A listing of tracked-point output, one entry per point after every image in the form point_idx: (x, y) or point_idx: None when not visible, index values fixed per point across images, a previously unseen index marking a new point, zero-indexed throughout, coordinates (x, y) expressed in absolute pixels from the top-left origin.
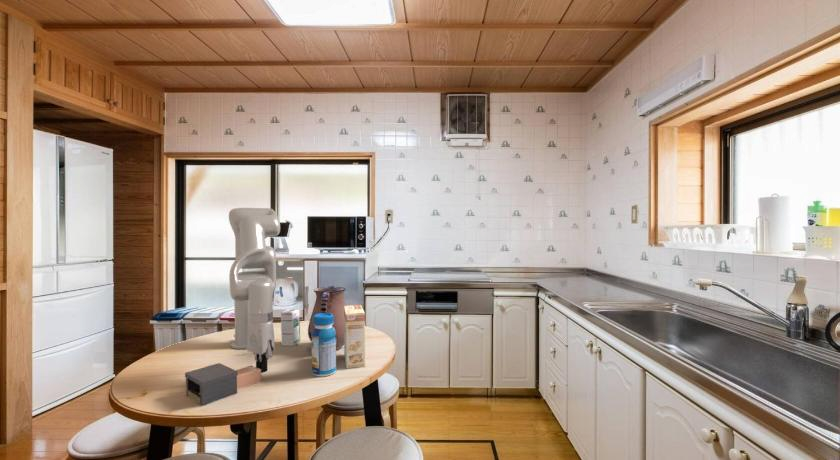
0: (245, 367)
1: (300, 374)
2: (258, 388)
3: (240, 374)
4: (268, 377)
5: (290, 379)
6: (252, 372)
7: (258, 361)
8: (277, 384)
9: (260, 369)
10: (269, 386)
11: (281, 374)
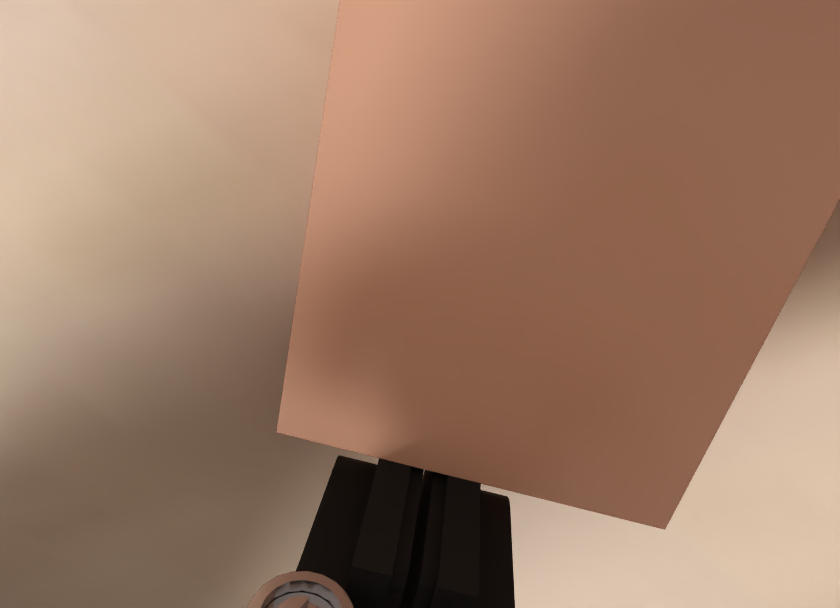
0: (711, 403)
1: (58, 600)
2: (98, 76)
3: (464, 4)
4: None
5: (18, 470)
6: (306, 250)
7: (413, 604)
8: (2, 301)
9: (280, 422)
10: (28, 206)
11: (257, 549)
